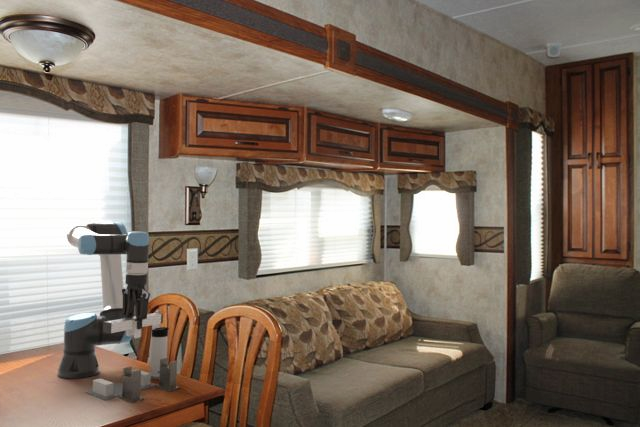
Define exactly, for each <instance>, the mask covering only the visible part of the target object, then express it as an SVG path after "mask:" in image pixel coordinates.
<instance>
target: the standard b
mask: <svg viewBox="0 0 640 427" xmlns="http://www.w3.org/2000/svg"><path fill="white" fill-rule="evenodd" d="M177 372H178V360H172V361H169V357H167V358H164V359H160V375H159V379H158V382H159V383H158V384H157V385H156V386H154V387H155V388H157V389H160V390H161V391H166V392H168V393H169V392H173V391H177V390H179V389H181V387H180V386H178V385H177V374H178V373H177Z"/></svg>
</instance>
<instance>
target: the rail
mask: <svg viewBox="0 0 640 427" xmlns="http://www.w3.org/2000/svg"><path fill="white" fill-rule="evenodd" d="M139 317H140V316H139ZM134 319H136V315H134V317H129V318H123V319H117V320H112V321H104V322H103V332H105V333H109V334H110V333H115V332H120V331H125V330H130V329H134V321H135V320H134ZM163 322H164V313H161V312H159V311H158V312H153V313H147V319H143V321H142V328H144V327H149V326H156V325H159V324H163Z"/></svg>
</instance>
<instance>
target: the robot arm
mask: <svg viewBox="0 0 640 427" xmlns="http://www.w3.org/2000/svg"><path fill="white" fill-rule="evenodd" d="M66 234H67V235H66V237H67V241H68V243H69V244H70V245H71V246H73V247H75V248H78V252H79V255H83V256H85V255H86V256H93V255H94V256H97V255H98V256H99V257H100V258H99V261H100V278H101V279H100V280H101V291H102V292H101V294H102V309H101V311H100V312H99V316H98V315H97V313H95V312H83V313H82V312H81V313H78V314H74V315H71V316H69V317H67V318H66V319H65V320H64V328H63V333H64V334H63V353H62V357H61V360H60V363H59V365H58V368H57V376H58V377H60V378H64V379H82V378H89V377H92V376H95V375H97V374H98V373H99V372H100V365H99V362H98V359H97V355H96V346H105V345H108V346H109V345H116V344H117V345H118V344H123V343H124V344H125V343H129V342H130V341H131V340H132V339H133V338H134V339H138V338H142V329H143V327H142V321H143V319H147V314H148V310H149V309H148V308H149V299H150V296H151V293H150V292H146V288H145V286H146V285H147V283H148V274H147V273H148V269H149V267H148V266H149V245H150V235H149V233H148V232H147V231H142V230H141V231H140V230H139V231H136V230H134V231H129V232H128V230H127V227H126V226H125V224H124V223H122V222H116V221H82V222H78V223H76V224H74V225H72V226H71V227H70V228H69V229H68V231H67V233H66ZM122 255H126V266H125V267H126V268H125V272H126V274H125V285H127V286H126V288H124V277H123V264H122V263H123V262H122ZM134 312H135V314H134ZM134 316H136V319H134V320H135V321H134V329H130V330H125V331H120V332H115V333H110V334H109V333H105V332H103V322H104V321H112V320H117V319H123V318H129V317H134ZM139 316H140V317H139Z"/></svg>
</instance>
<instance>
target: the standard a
mask: <svg viewBox="0 0 640 427" xmlns="http://www.w3.org/2000/svg"><path fill="white" fill-rule="evenodd" d="M132 370H133V367H132V366H127V367H123V369H122V382H123V387H122V395H120V396H118V397H117V398H118V399H119V400H120V399H121V400H122V401H125V402H127V403H131V404H134V403H137V402H142V401H144V400H145V397H143V396H141V390H140V386H141V370H142V369H139V370H136V369H135V370H136V371H132Z"/></svg>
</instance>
